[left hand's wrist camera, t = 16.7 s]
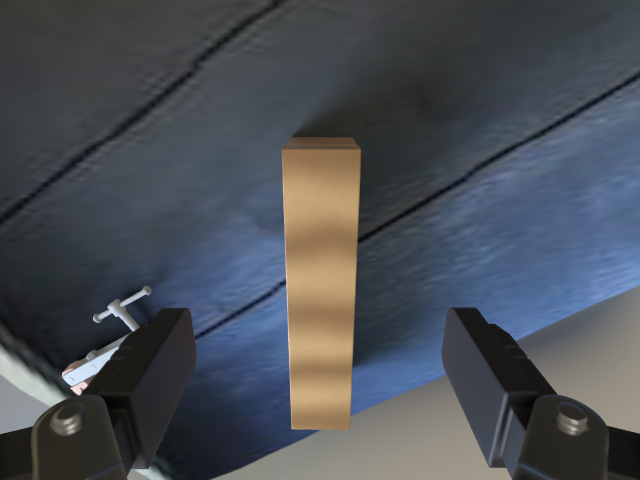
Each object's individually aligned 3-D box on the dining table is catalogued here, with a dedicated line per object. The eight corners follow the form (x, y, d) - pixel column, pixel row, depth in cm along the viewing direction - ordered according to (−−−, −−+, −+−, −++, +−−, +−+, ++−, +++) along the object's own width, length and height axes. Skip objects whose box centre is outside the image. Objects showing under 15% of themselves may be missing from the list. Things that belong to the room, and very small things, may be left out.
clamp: (95, 413, 42) (30, 352, 39) (106, 398, 45) (45, 339, 41) (201, 359, 40) (140, 289, 37) (206, 346, 42) (149, 278, 39)
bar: (290, 137, 34) (281, 149, 26) (352, 137, 34) (361, 149, 26) (296, 370, 43) (291, 429, 36) (344, 371, 43) (349, 429, 36)
